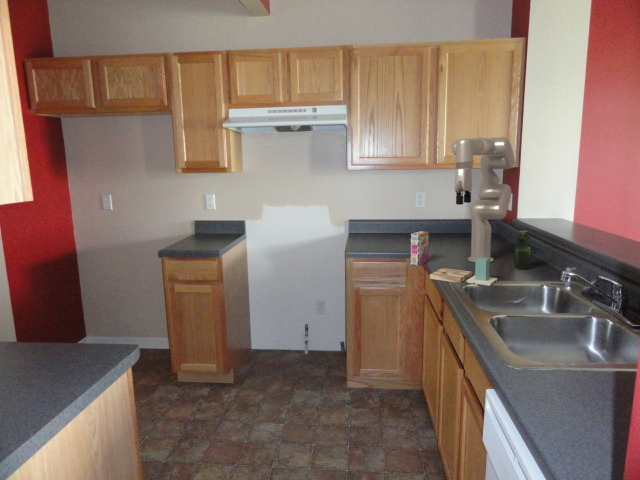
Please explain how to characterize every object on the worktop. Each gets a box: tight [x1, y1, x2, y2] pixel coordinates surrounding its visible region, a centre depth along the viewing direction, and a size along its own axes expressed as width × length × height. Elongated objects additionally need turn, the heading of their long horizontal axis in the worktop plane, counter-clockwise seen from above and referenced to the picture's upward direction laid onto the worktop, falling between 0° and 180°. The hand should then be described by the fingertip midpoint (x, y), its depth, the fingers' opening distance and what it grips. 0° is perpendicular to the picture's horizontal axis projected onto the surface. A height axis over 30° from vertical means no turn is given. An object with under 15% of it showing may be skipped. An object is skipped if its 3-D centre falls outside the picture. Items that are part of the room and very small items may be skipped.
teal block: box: [474, 257, 491, 281], centre depth 190 cm, size 4×4×9 cm
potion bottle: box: [512, 230, 533, 271], centre depth 210 cm, size 8×8×18 cm
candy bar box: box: [409, 230, 430, 267], centre depth 227 cm, size 11×5×16 cm, turn 141°
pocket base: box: [429, 267, 473, 284], centre depth 199 cm, size 14×14×2 cm
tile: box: [465, 274, 498, 287], centre depth 191 cm, size 10×10×1 cm
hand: (463, 203), depth 205 cm, fingers open, 9 cm apart
